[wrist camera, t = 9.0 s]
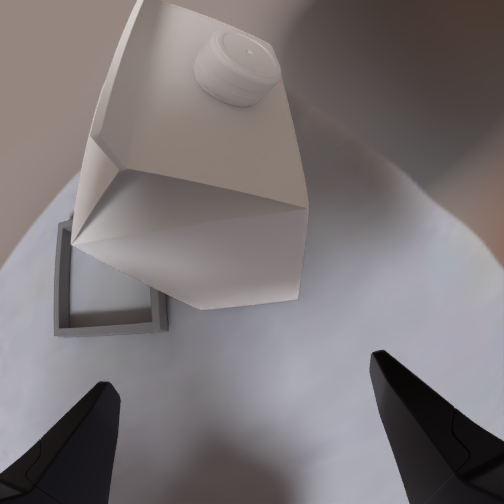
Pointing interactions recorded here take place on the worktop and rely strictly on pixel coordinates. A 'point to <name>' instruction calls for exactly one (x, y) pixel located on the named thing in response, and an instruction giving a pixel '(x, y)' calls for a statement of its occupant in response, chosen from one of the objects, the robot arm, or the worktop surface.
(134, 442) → the worktop surface
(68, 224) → the drip tray
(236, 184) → the milk carton
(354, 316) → the worktop surface
